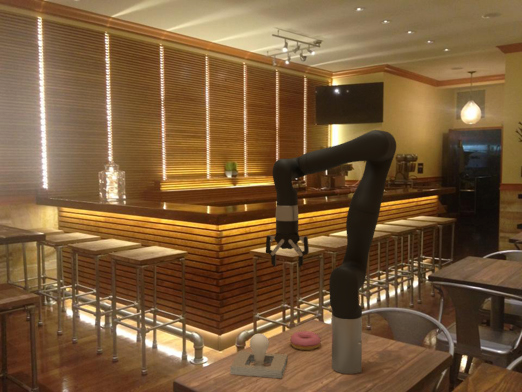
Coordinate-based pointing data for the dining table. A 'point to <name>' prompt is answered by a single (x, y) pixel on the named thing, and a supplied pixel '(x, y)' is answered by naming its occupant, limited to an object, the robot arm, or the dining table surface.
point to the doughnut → (305, 340)
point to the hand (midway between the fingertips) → (287, 266)
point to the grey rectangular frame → (274, 371)
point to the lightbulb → (259, 348)
